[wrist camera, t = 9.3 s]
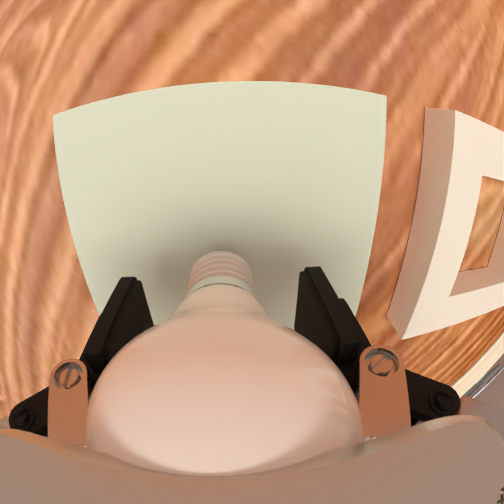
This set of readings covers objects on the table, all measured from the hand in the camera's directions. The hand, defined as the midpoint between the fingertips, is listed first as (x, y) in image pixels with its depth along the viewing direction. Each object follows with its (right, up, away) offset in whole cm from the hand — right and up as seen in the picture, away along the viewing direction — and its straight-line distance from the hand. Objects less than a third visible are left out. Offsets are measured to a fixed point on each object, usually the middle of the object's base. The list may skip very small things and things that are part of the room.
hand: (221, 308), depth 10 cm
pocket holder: (+18, +4, +5) cm, 19 cm away
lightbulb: (0, +1, +2) cm, 3 cm away
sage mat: (0, +2, +4) cm, 4 cm away
